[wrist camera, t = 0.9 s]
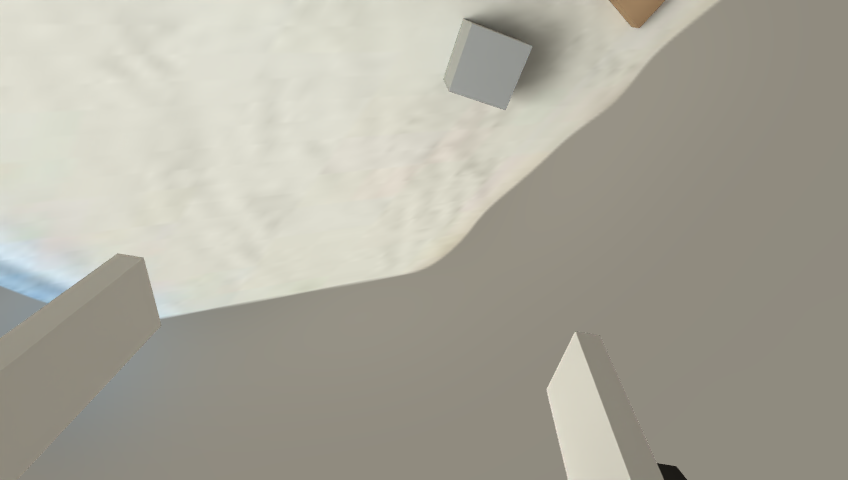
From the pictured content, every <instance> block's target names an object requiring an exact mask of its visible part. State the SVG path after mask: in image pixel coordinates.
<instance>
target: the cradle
mask: <svg viewBox="0 0 848 480" xmlns="http://www.w3.org/2000/svg"><path fill="white" fill-rule="evenodd" d="M609 1H610V2H611V3H612V4H613V5H614V7H615V8H616V9H617V10H618V11H619V12H620V14H621V15H622V16H623V17H624V18H625V20H626V21H627V22H628V23H629V24H630V25H631V27H635V28H640V27H641V26H642V25H643V24H644V23H645V21H646V20H647V19H648V18H649V17H650V16H651V15H652V14H653V13H654V12H655V11H656V10H657V9H658V8H659V7H660V5H661V4H662V3H663V2H664V1H665V0H609Z"/></svg>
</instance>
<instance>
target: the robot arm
mask: <svg viewBox="0 0 848 480" xmlns="http://www.w3.org/2000/svg"><path fill="white" fill-rule="evenodd" d="M160 326H161V322H160V318H159V315H158V311H157V307H156V303H155V299H154V296H153V292H152V288H151V284H150V280H149V277H148V273H147V269H146V265H145V261H144V258H142V257H136V256H130V255H124V254H116V255H115V256H114V257H112V258H111V259H109V260H108V261H107V262H105V263H104V264H102V265H101V266H100V267H98V268H97V269H95V270H94V271H93V272H91V273H90V274H88V275H87V276H86V277H84V278H83V279H81V280H80V281H79V282H77V283H76V284H75V285H73V286H72V287H70V288H69V289H68V290H66V291H65V292H63V293H62V294H61V295H59V296H58V297H56V298H55V299H54V300H52V301H51V302H49V303H48V304H47V305H45V306H44V307H42V308H41V309H40V310H38V311H37V312H36V313H34V314H33V315H31V316H30V317H29V318H27V319H26V320H24V321H23V322H22V323H20V324H19V325H17V326H16V327H15V328H13V329H12V330H11V331H9V332H8V333H6V334H5V335H3V336H2V337H1V338H0V480H17V479H18V478H19V477H20V476H21V475H22V474H23V473H24V472H25V471H26V470H27V469H28V468H29V466H31V464H32V463H33V462H34V461H35V460H36V459H37V458H38V457H39V456H40V455H41V454H42V453H43V452H44V451H45V450H46V448H47V447H48V446H49V445H50V444H51V443H52V442H53V441H54V440H55V439H56V438H57V437H58V436H59V434H60V433H61V432H62V431H63V430H64V429H65V428H66V427H67V426H68V425H69V424H70V423H71V422H72V420H74V418H75V417H76V416H77V415H78V414H79V413H80V412H81V411H82V410H83V409H84V408H85V407H86V406H87V405H88V403H89V402H90V401H91V400H92V399H93V398H94V397H95V396H96V395H97V394H98V393H99V391H101V390H102V389H103V387H104V386H105V385H106V384H107V383H108V382H109V381H110V380H111V379H112V378H113V377H114V376H115V375H116V374H117V372H118V371H119V370H120V369H121V368H122V367H123V366H124V365H125V364H126V363H127V362H128V361H129V360H130V359H131V357H132V356H133V355H134V354H135V353H136V352H137V351H138V350H139V349H140V348H141V347H142V346H143V345H144V344H145V343H146V342H147V340H148V339H149V338H150V337H151V336H152V335H153V334H154V333H155V332H156V331H157V330H158V329H159V328H160ZM547 394H548V398H549V402H550V407H551V410H552V415H553V419H554V423H555V428H556V432H557V436H558V440H559V444H560V449H561V453H562V457H563V461H564V465H565V469H566V473H567V478H568V480H687V479H686V478H685V477H684V475H683V474H682V473H681V472H680V470H679V469H678V468H677V467H676V466H671V465H665V464H659V463H656V460H655V458H654V456H653V454H652V451H651V449H650V447H649V445H648V442H647V440H646V438H645V436H644V433H643V431H642V429H641V427H640V424H639V422H638V420H637V418H636V415H635V413H634V411H633V409H632V406H631V404H630V402H629V400H628V397H627V395H626V393H625V391H624V388H623V386H622V384H621V381H620V380H619V377H618V375H617V372H616V370H615V368H614V366H613V363H612V361H611V359H610V357H609V355H608V352H607V350H606V348H605V346H604V343H603V341H602V339H601V336H600V335H595V334H589V333H584V332H578V331H575V333H574V335H573V337H572V339H571V341H570V343H569V345H568V347H567V349H566V351H565V353H564V355H563V357H562V359H561V361H560V364H559V365H558V367H557V369H556V372H555V373H554V375H553V378H552V380H551V382H550V384H549V386H548V388H547Z"/></svg>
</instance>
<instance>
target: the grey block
mask: <svg viewBox="0 0 848 480" xmlns="http://www.w3.org/2000/svg"><path fill="white" fill-rule="evenodd" d="M532 47H533V46H531V45H529V44H527V43H525V42H522V41H520V40H518V39H516V38H513V37H510V36H508V35H505V34H502V33H500V32H497V31H494V30H492V29H489V28H486V27H484V26H481V25H479V24H476V23H473V22H471V21H468V20H465V19H463V21H462V24H461V27H460V30H459V33H458V36H457V39H456V42H455V45H454V48H453V51H452V54H451V57H450V60H449V63H448V66H447V70H446V73H445V76H444V82H445V84H446V86H447V88H448V91H449V92H452V93H455V94H458V95H461V96H464V97H467V98H470V99H473V100H476V101H479V102H482V103H485V104H488V105H491V106H494V107H497V108H500V109H503V110H506V108H507V106H508V103H509V101H510V99H511V96H512V94H513V92H514V89H515V87H516V85H517V82H518V80H519V77H520V75H521V73H522V70H523V68H524V66H525V63H526V61H527V59H528V56H529V54H530V52H531V49H532Z"/></svg>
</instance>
